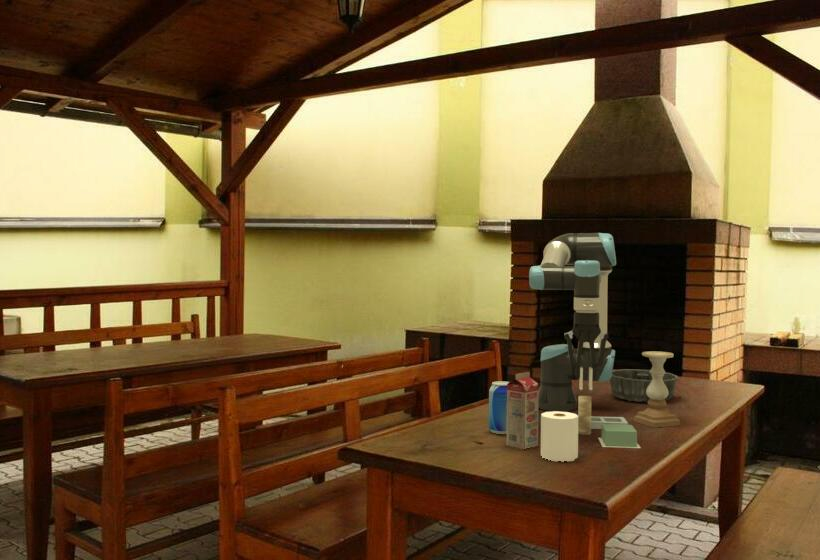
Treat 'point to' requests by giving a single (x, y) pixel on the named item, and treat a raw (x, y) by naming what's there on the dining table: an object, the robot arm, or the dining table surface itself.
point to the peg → (584, 415)
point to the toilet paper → (559, 436)
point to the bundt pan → (637, 384)
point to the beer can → (498, 407)
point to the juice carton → (522, 411)
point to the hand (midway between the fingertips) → (585, 388)
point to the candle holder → (657, 395)
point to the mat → (615, 446)
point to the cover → (619, 435)
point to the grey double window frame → (606, 421)
